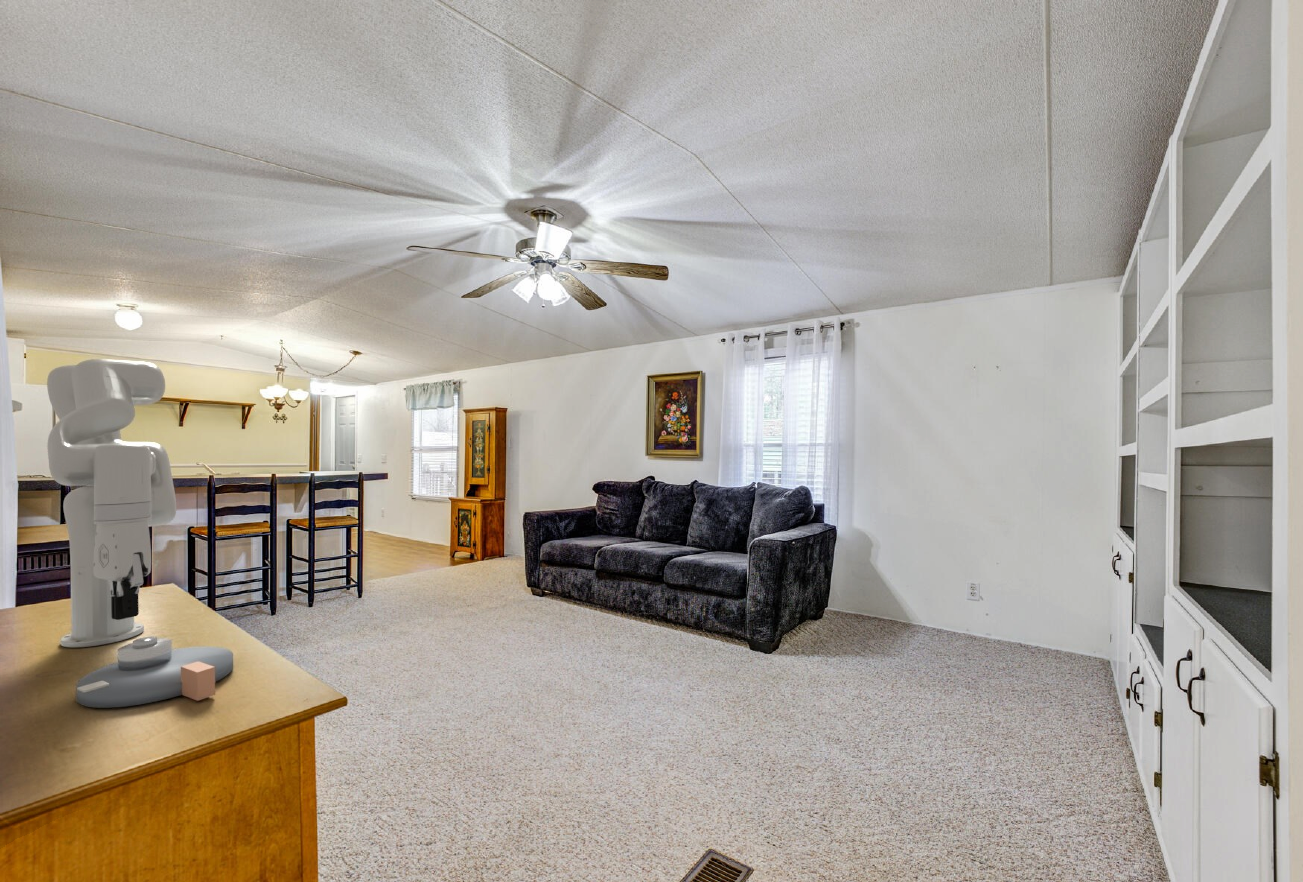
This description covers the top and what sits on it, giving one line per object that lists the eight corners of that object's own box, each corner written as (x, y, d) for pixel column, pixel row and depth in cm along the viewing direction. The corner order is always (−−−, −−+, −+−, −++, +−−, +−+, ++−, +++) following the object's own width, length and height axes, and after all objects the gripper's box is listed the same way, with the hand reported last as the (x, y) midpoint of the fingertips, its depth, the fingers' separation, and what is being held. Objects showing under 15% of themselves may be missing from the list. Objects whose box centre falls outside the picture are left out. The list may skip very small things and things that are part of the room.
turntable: (53, 691, 94) (53, 664, 93) (197, 650, 111) (197, 627, 111) (125, 726, 82) (125, 695, 82) (272, 674, 100) (272, 648, 100)
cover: (109, 666, 99) (109, 642, 99) (159, 652, 105) (159, 630, 105) (129, 674, 95) (129, 649, 95) (179, 659, 102) (179, 636, 102)
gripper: (76, 514, 103) (78, 618, 103) (116, 517, 96) (117, 628, 96) (130, 510, 110) (131, 607, 110) (170, 512, 103) (172, 616, 103)
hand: (125, 617), depth 103 cm, fingers closed
